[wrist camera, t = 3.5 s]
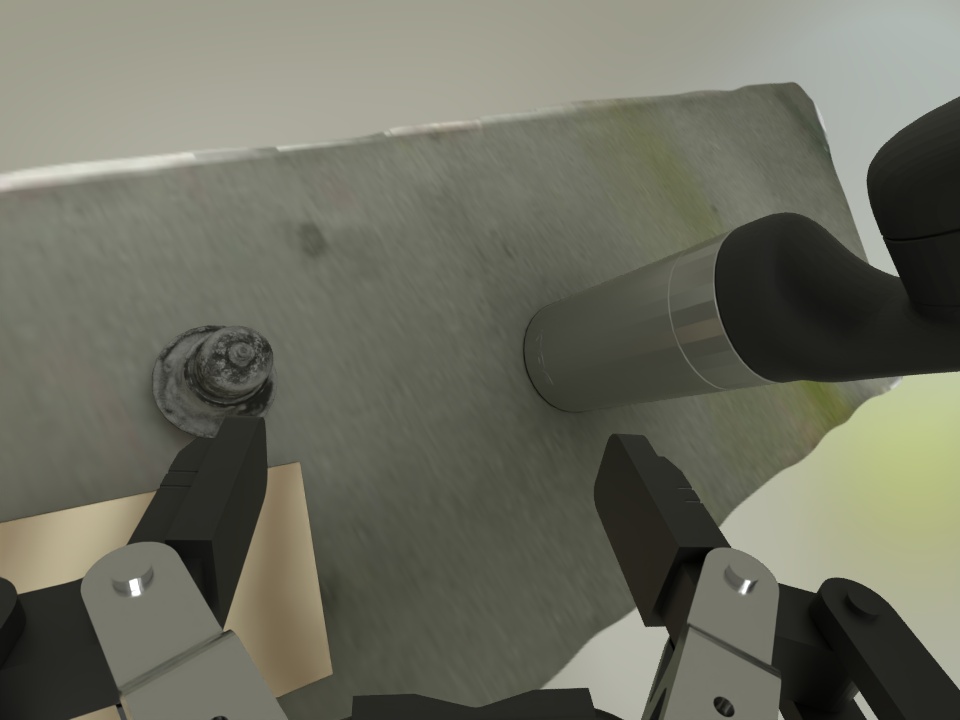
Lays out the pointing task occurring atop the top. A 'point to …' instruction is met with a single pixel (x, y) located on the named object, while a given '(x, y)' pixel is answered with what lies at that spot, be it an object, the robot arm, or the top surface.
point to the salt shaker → (214, 378)
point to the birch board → (259, 594)
